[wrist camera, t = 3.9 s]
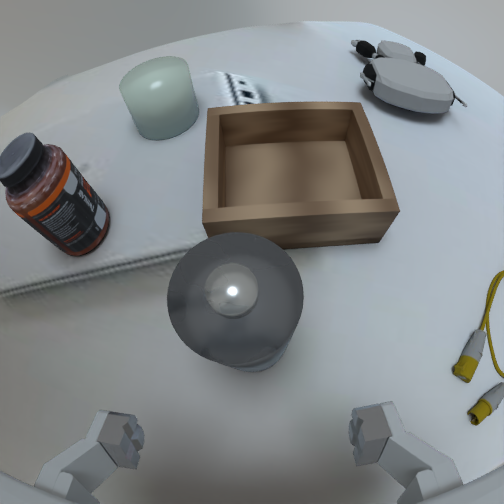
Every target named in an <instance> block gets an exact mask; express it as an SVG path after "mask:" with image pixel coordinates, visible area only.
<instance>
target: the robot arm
mask: <svg viewBox="0 0 504 504" xmlns="http://www.w3.org/2000/svg"><path fill="white" fill-rule="evenodd" d="M351 415H352V418H353V419H352V420H351V421H350V423H349V439H350V443H351V444H352V445H353V446H355V447H354V451H353V455H354V459H355V463H356V466H360V465H366V464H371V463H376V462H378V464H379V465H380V466H381V467H382V468H383V469H384V470H385V471H387V472H388V473H389V474H390V475H391V476H392V477H393V478H394V479H396V480H397V481H398V482H399V483H400V484H401V485H402V486H403V487H405V488H406V490H405V491H404V493H403V494H402V495H401V496H400V498H399V499H398V500H397V504H504V465H503V466H501V467H499V468H497V469H495V470H493V471H491V472H489V473H487V474H485V475H483V476H481V477H479V478H477V479H475V480H473V481H471V482H469V483H467V484H464V485H463V482H462V480H461V477H460V475H459V473H458V470H457V468H456V466H455V464H454V461H453V459H451V458H449V457H448V456H446V455H445V454H443V453H441V452H440V451H438V450H437V449H435V448H433V447H432V446H430V445H429V444H427V443H426V442H424V441H423V440H421V439H419V438H418V437H416V436H415V435H413V434H412V433H410V432H408V433H406V431H405V429H404V426H403V424H402V421H401V419H400V417H399V414H398V412H397V410H396V407H395V405H394V403H393V402H392V401H390V402H385V403H381V404H374V405H369V406H364V407H358V408H354V409H353V410H352V414H351ZM137 421H138V420H137V418H136V416H135V415H132V414H124V413H118V412H112V411H105V410H99V411H98V412H97V414H96V416H95V418H94V420H93V422H92V425H91V427H90V429H89V431H88V433H87V436H86V438H85V439H81V440H79V441H78V442H76V443H75V444H73V445H72V446H71V447H69V448H68V449H66V450H65V451H63V452H62V453H60V454H59V455H57V456H56V457H54V458H53V459H51V460H50V461H48V462H47V463H45V464H44V465H43V467H42V470H41V472H40V474H39V476H38V478H37V480H36V483H35V485H34V487H33V486H31V485H29V484H27V483H24V482H22V481H20V480H18V479H16V478H14V477H12V476H10V475H8V474H6V473H4V472H2V471H0V504H100V503H99V501H98V500H97V499H96V498H95V497H94V496H93V495H92V494H91V493H92V492H93V491H94V490H95V489H96V488H97V487H98V486H99V485H100V484H101V483H102V482H103V481H104V480H105V479H106V478H107V477H109V476H110V475H111V474H112V473H113V472H114V471H115V470H116V469H117V468H118V467H124V468H131V469H137V466H138V462H139V459H140V455H139V453H138V451H139V450H141V449H142V448H143V445H144V431H143V429H142V427H141V426H139V425H138V424H137ZM117 466H118V467H117Z"/></svg>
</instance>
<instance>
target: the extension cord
mask: <svg viewBox="0 0 504 504" xmlns="http://www.w3.org/2000/svg"><path fill="white" fill-rule="evenodd" d="M503 277H504V271H501V272H499V273H498V274H497V275H496V276H495V277H494V279H493V280H492V282H491V284H490V287H489V290H488V294H487V300H486V313H485V316H484V319H483V322H482V325H481V328H480V329H477V330H475V332H474V334H473V335H472V337H471V339H470V340H469V342H468V343H467V345H466V347H465V348H464V350H463V352H462V355H461V357H460V359H459V362H458V363H457V364H456V365H455V366H454V368H455V371H454V373H453V374H454V375H455V376H458V377H459V378H461V379H462V380H463V381H465V382H466V383H469V382H470V381H471V379H472V377H473V375H474V373H475V370H476V368H477V366H478V364H479V361H480V359H481V357H482V352H483V348H484V343H485V337H486V333H485V332H484V331H483V330H484V327H485V324H486V330H487V337H488V343H489V348H490V352H491V356H492V360H493V363H494V367H495V369H496V370H497V372H498V373H499V374H500V376H502V377H504V373H503V372H502V371H501V370H500V368H499V367H498V364H497V361H496V358H495V354H494V350H493V346H492V341H491V335H490V328H489V312H490V308H491V305H492V302H493V299H494V296H495V293H496V290H497V287H498V285H499V283H500V281H501V279H502V278H503ZM497 279H498V280H497ZM496 280H497V281H496ZM495 281H496V284H495V286H494V288H493V285H494V283H495ZM492 288H493V291H492ZM491 291H492V294H491ZM490 295H491V297H490ZM503 398H504V383H502V382H501V383H499V385H497V386H496V387H494V388H493V389H492V390H490V391H489V392H488V393H485V394H484V396H483V397H482V398H481V399H480V400H479V401H478V404H477V405H476V406H474V407H473V408H472V409H471V410H470V411H469V412H468V415H469V414H470V413H472V414H473V413H474V414H475V415H476V416H475V417H474V418H473V419H472V421H471V424H474V425H478V424H480V423H481V422H482V421H483V420H484V419H485V418H486V417H487V416H489V415H490V414H491V413H492V412H493V411H494V410H495V409H497V408H498V405H499V404H500V402H501V401H502V399H503Z"/></svg>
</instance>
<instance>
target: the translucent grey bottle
mask: <svg viewBox="0 0 504 504" xmlns="http://www.w3.org/2000/svg"><path fill="white" fill-rule="evenodd" d="M303 299H304V296H303V285H302V280H301V277H300V274H299V272H298V270H297V267H296V265H295V264H294V262H293V261H292V259H291V258H290V257H289V256H288V254H287V253H286V252H285V251H284V250H283V249H282V248H280V247H279V246H278V245H276V244H275V243H273V242H272V241H270V240H268V239H266V238H264V237H261V236H258V235H255V234H251V233H243V232H230V233H223V234H219V235H215V236H213V237H210V238H208V239H206V240H204V241H202V242H200V243H199V244H197V245H196V246H194V247H193V248H192V249H191V250H190V251H188V252H187V253H186V254H185V256H184V257H183V258H182V259H181V260H180V262H179V263H178V265H177V266H176V268H175V270H174V272H173V274H172V277H171V280H170V283H169V287H168V295H167V306H168V312H169V316H170V320H171V323H172V325H173V327H174V329H175V331H176V333H177V334H178V336H179V337H180V338H181V340H182V341H183V342H184V343H185V344H186V345H187V346H188V347H189V348H190V349H191V350H193V351H194V352H196V353H197V354H199V355H200V356H202V357H205V358H207V359H209V360H212V361H215V362H217V363H220V364H223V365H226V366H229V367H232V368H235V369H238V370H242V371H246V372H258V371H262V370H265V369H267V368H269V367H271V366H273V365H274V364H275V363H276V362H277V361H278V360H279V359H280V358H281V357H282V355H283V353H284V351H285V349H286V347H287V345H288V343H289V341H290V339H291V337H292V335H293V332H294V330H295V328H296V326H297V324H298V321H299V319H300V316H301V312H302V308H303Z"/></svg>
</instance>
